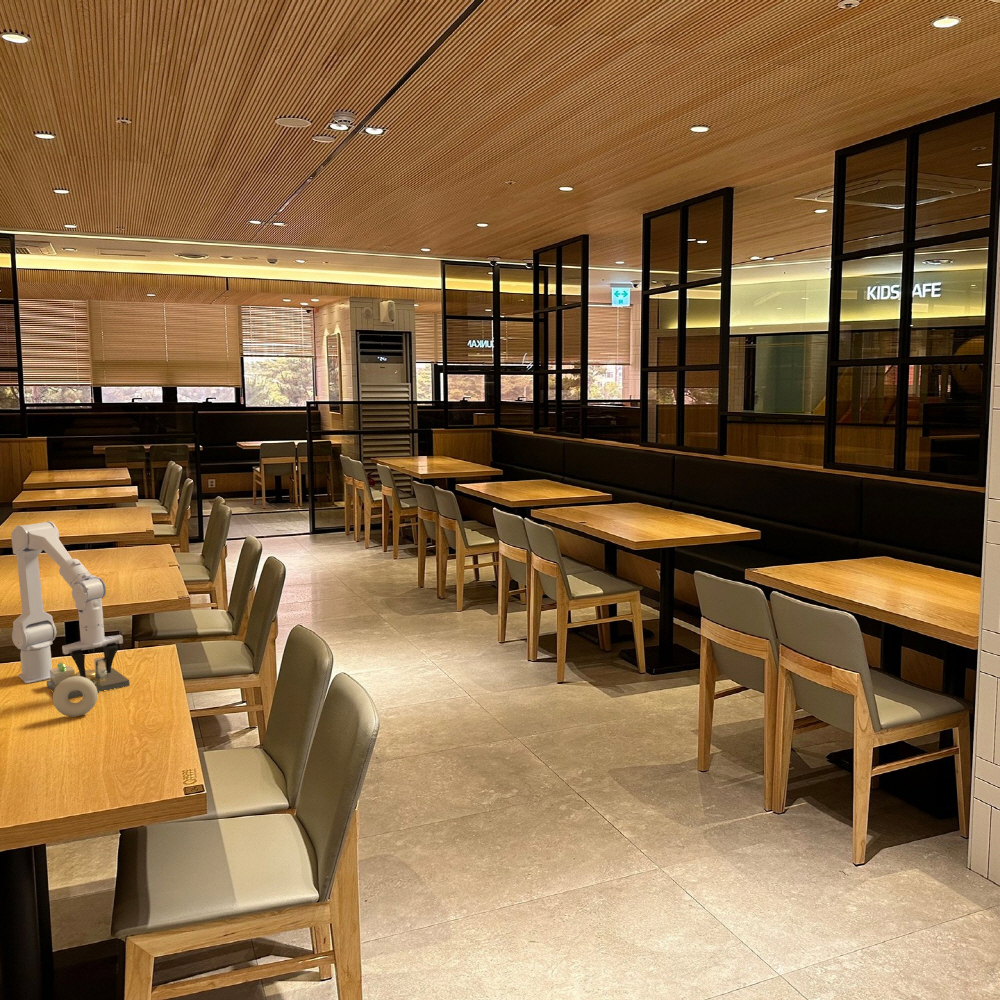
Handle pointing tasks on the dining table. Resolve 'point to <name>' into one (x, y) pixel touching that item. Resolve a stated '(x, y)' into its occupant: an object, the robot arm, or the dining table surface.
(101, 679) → the gold rounded piece
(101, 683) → the instrument base
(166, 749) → the dining table surface
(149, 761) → the dining table surface
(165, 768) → the dining table surface
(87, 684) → the donut
